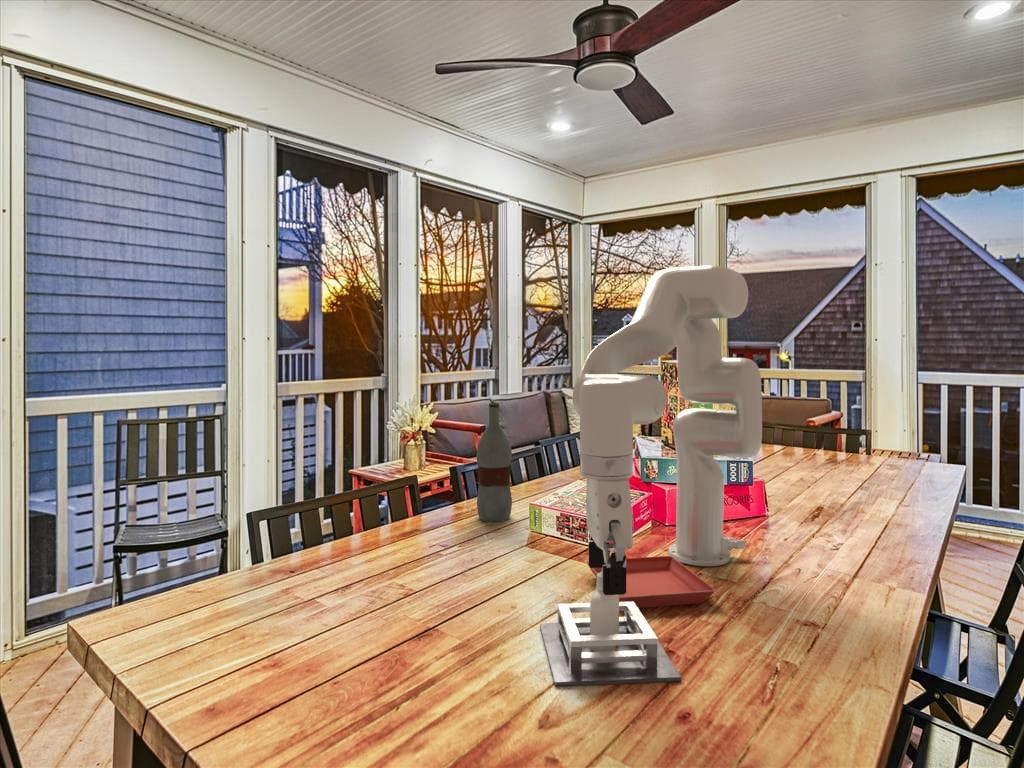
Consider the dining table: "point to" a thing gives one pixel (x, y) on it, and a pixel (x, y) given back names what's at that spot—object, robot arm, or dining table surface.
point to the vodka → (494, 470)
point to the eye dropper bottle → (603, 614)
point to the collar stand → (623, 665)
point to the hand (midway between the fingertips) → (606, 579)
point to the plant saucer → (661, 582)
